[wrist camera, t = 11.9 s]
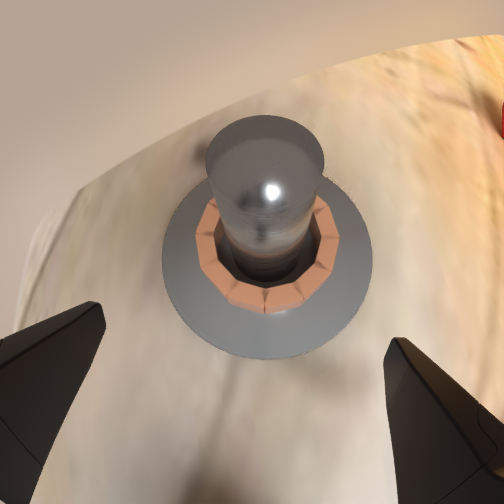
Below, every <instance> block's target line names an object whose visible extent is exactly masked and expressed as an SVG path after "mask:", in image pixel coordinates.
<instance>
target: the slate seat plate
mask: <svg viewBox="0 0 504 504" xmlns="http://www.w3.org/2000/svg"><path fill="white" fill-rule="evenodd" d="M162 270H163V276H164V281H165V286H166V289H167V292H168V294H169V297H170V299H171V301H172V303H173V305H174V307H175V309H176V311H177V312H178V314H179V315H180V316H181V318H182V319H183V321H184V322H185V323H186V324H187V325H188V326H189V327H190V328H191V329H192V330H193V331H194V332H195V333H196V334H197V335H199V336H200V337H201V338H202V339H204V340H205V341H206V342H208V343H210V344H212V345H213V346H215V347H217V348H218V349H221V350H223V351H226V352H228V353H231V354H233V355H237V356H241V357H245V358H251V359H260V360H275V359H283V358H289V357H294V356H297V355H300V354H303V353H306V352H309V351H311V350H313V349H315V348H317V347H319V346H321V345H323V344H325V343H326V342H328V341H329V340H331V339H332V338H333V337H335V336H336V335H337V334H338V333H339V332H340V331H341V330H343V329H344V328H345V327H346V326H347V324H348V323H349V322H350V321H351V319H352V318H353V317H354V316H355V314H356V313H357V311H358V309H359V308H360V306H361V304H362V302H363V300H364V298H365V295H366V293H367V290H368V287H369V283H370V279H371V272H372V248H371V241H370V237H369V234H368V230H367V227H366V225H365V222H364V220H363V218H362V216H361V214H360V212H359V211H358V209H357V208H356V206H355V204H354V203H353V202H352V201H351V199H350V198H349V197H348V196H347V195H346V194H345V193H344V192H343V191H342V190H341V189H340V188H339V187H338V186H337V185H336V184H334V183H333V182H332V181H330V180H329V179H327V178H326V177H324V176H322V177H321V181H320V185H319V189H318V193H317V197H316V200H315V204H314V208H313V212H312V215H311V219H310V223H309V226H308V230H307V234H306V237H305V241H304V244H303V248H302V251H301V255H300V258H299V261H298V264H297V266H296V267H295V269H294V270H293V271H292V272H291V273H290V274H289V275H288V276H286V277H285V278H283V279H281V280H278V281H275V282H258V281H254V280H252V279H250V278H248V277H247V276H245V275H244V274H243V273H242V272H241V271H240V270H239V269H238V267H237V266H236V264H235V261H234V259H233V255H232V252H231V249H230V246H229V243H228V240H227V236H226V233H225V230H224V227H223V223H222V220H221V217H220V214H219V210H218V207H217V204H216V201H215V197H214V194H213V191H212V188H211V184H210V181H209V178H207V179H206V180H205V181H203V182H202V183H200V184H199V185H198V186H197V187H196V188H195V189H193V190H192V191H191V192H190V193H189V194H188V196H187V197H186V198H185V199H184V200H183V201H182V203H181V204H180V206H179V207H178V208H177V210H176V212H175V213H174V215H173V217H172V219H171V221H170V224H169V226H168V229H167V232H166V235H165V239H164V244H163V252H162Z"/></svg>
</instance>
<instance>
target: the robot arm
mask: <svg viewBox="0 0 504 504" xmlns="http://www.w3.org/2000/svg"><path fill="white" fill-rule="evenodd" d="M105 330H106V321H105V317H104V313H103V309H102V306H101V304H100V303H97V302H93V301H88V302H85V303H83V304H81V305H78V306H76V307H74V308H71V309H69V310H67V311H64V312H62V313H60V314H57V315H55V316H53V317H51V318H48V319H46V320H44V321H41V322H39V323H37V324H34V325H32V326H30V327H28V328H25V329H23V330H21V331H19V332H16V333H14V334H12V335H9V336H7V337H5V338H4V339H1V340H0V500H1V501H3V502H4V503H5V504H29V503H30V501H31V498H32V495H33V493H34V490H35V487H36V485H37V482H38V480H39V477H40V475H41V472H42V470H43V466H44V464H45V462H46V460H47V457H48V455H49V452H50V450H51V448H52V446H53V443H54V441H55V439H56V437H57V434H58V432H59V430H60V428H61V426H62V423H63V421H64V419H65V417H66V415H67V413H68V411H69V409H70V407H71V404H72V402H73V400H74V398H75V396H76V394H77V392H78V390H79V388H80V386H81V384H82V382H83V380H84V379H85V377H86V375H87V373H88V371H89V369H90V367H91V364H92V362H93V359H94V357H95V354H96V352H97V349H98V347H99V345H100V342H101V340H102V337H103V335H104V333H105ZM383 367H384V379H385V395H386V408H387V415H388V421H389V428H390V434H391V441H392V448H393V456H394V464H395V473H396V483H397V494H398V504H504V424H503V423H502V422H501V421H499V420H498V419H497V418H496V417H495V416H494V415H492V414H491V413H490V412H489V411H488V410H487V409H486V408H485V407H484V406H482V405H481V404H480V403H479V402H478V401H477V400H476V399H475V398H474V397H473V396H471V395H470V394H469V393H468V392H467V391H466V390H465V389H464V388H463V387H461V386H460V385H459V384H458V383H457V382H456V381H455V380H454V379H453V378H451V377H450V376H449V375H448V374H447V373H446V372H445V371H444V370H442V369H441V368H440V367H439V366H438V365H437V364H436V363H434V362H433V361H432V360H431V359H430V358H429V357H428V356H426V355H425V354H424V353H423V352H422V351H421V350H420V349H418V348H417V347H416V346H415V345H414V344H413V343H411V342H410V341H409V340H408V339H407V338H404V337H394V338H393V339H392V340H391V342H390V345H389V347H388V350H387V352H386V355H385V357H384V362H383Z"/></svg>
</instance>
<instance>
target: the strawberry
mask: <svg viewBox="0 0 504 504" xmlns="http://www.w3.org/2000/svg"><path fill="white" fill-rule="evenodd" d="M502 136H503V138H504V103H503V107H502Z"/></svg>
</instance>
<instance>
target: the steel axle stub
mask: <svg viewBox="0 0 504 504" xmlns="http://www.w3.org/2000/svg"><path fill="white" fill-rule="evenodd" d="M323 169H324V155H323V151H322V148H321V146H320V144H319V142H318V141H317V139H316V138H315V136H314V135H313V134H312V133H311V132H310V131H309V130H308V129H306V128H305V127H303V126H302V125H300V124H298V123H297V122H295V121H292V120H290V119H287V118H283V117H278V116H271V115H259V116H252V117H247V118H244V119H240V120H238V121H236V122H234V123H232V124H230V125H228V126H227V127H225V128H224V129H223V130H221V131H220V132H219V133H218V134H217V135H216V136H215V138H214V139H213V140H212V142H211V144H210V146H209V148H208V151H207V154H206V170H207V174H208V178H209V181H210V184H211V188H212V191H213V194H214V197H215V201H216V204H217V207H218V210H219V214H220V217H221V220H222V223H223V227H224V230H225V233H226V236H227V240H228V243H229V246H230V249H231V252H232V255H233V259H234V261H235V264H236V266H237V267H238V269H239V270H240V271H241V272H242V273H243V274H244V275H245V276H247V277H248V278H250V279H252V280H254V281H258V282H275V281H278V280H281V279H283V278H285V277H286V276H288V275H289V274H290V273H291V272H292V271H293V270H294V269H295V267H296V266H297V264H298V261H299V258H300V255H301V251H302V248H303V244H304V241H305V237H306V234H307V230H308V226H309V223H310V219H311V215H312V212H313V208H314V204H315V200H316V197H317V193H318V189H319V185H320V181H321V177H322V173H323Z"/></svg>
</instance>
